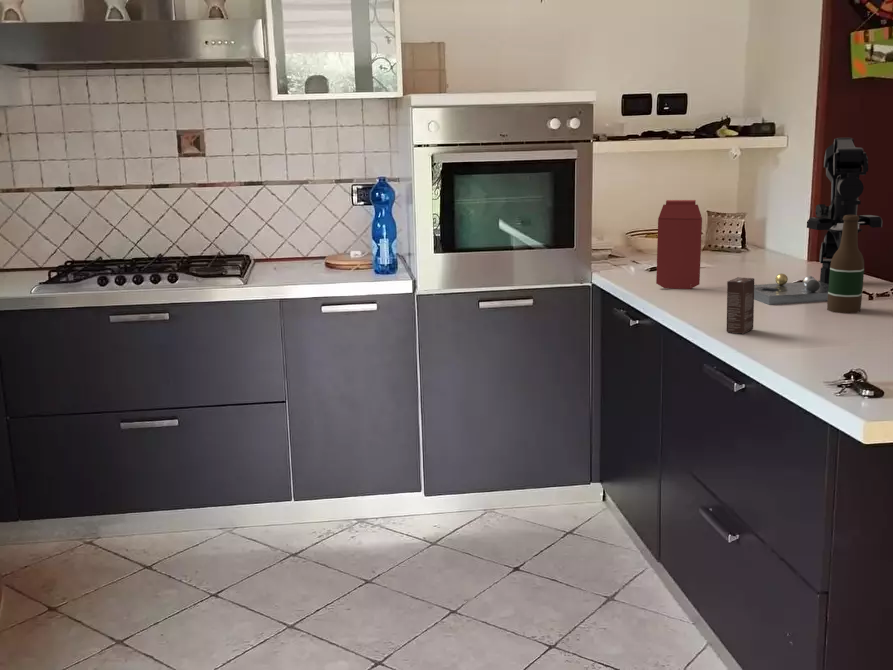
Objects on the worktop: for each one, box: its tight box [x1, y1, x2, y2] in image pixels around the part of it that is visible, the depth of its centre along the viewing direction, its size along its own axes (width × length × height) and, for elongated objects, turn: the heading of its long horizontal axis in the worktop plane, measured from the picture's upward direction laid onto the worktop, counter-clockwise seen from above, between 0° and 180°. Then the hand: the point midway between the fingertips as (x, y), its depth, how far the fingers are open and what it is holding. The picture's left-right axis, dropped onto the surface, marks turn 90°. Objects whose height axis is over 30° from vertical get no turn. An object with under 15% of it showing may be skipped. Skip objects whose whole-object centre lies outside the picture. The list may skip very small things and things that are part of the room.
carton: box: [655, 199, 703, 290], centre depth 260 cm, size 12×5×25 cm, turn 74°
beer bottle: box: [826, 214, 865, 314], centre depth 222 cm, size 8×8×24 cm
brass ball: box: [775, 273, 789, 285], centre depth 248 cm, size 3×3×3 cm
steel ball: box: [802, 275, 816, 287], centre depth 244 cm, size 3×3×3 cm
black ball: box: [807, 279, 820, 292], centre depth 238 cm, size 3×3×3 cm
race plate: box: [754, 280, 829, 306], centre depth 244 cm, size 23×16×2 cm
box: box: [726, 276, 755, 335], centre depth 206 cm, size 6×4×12 cm
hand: (842, 254), depth 243 cm, fingers closed
